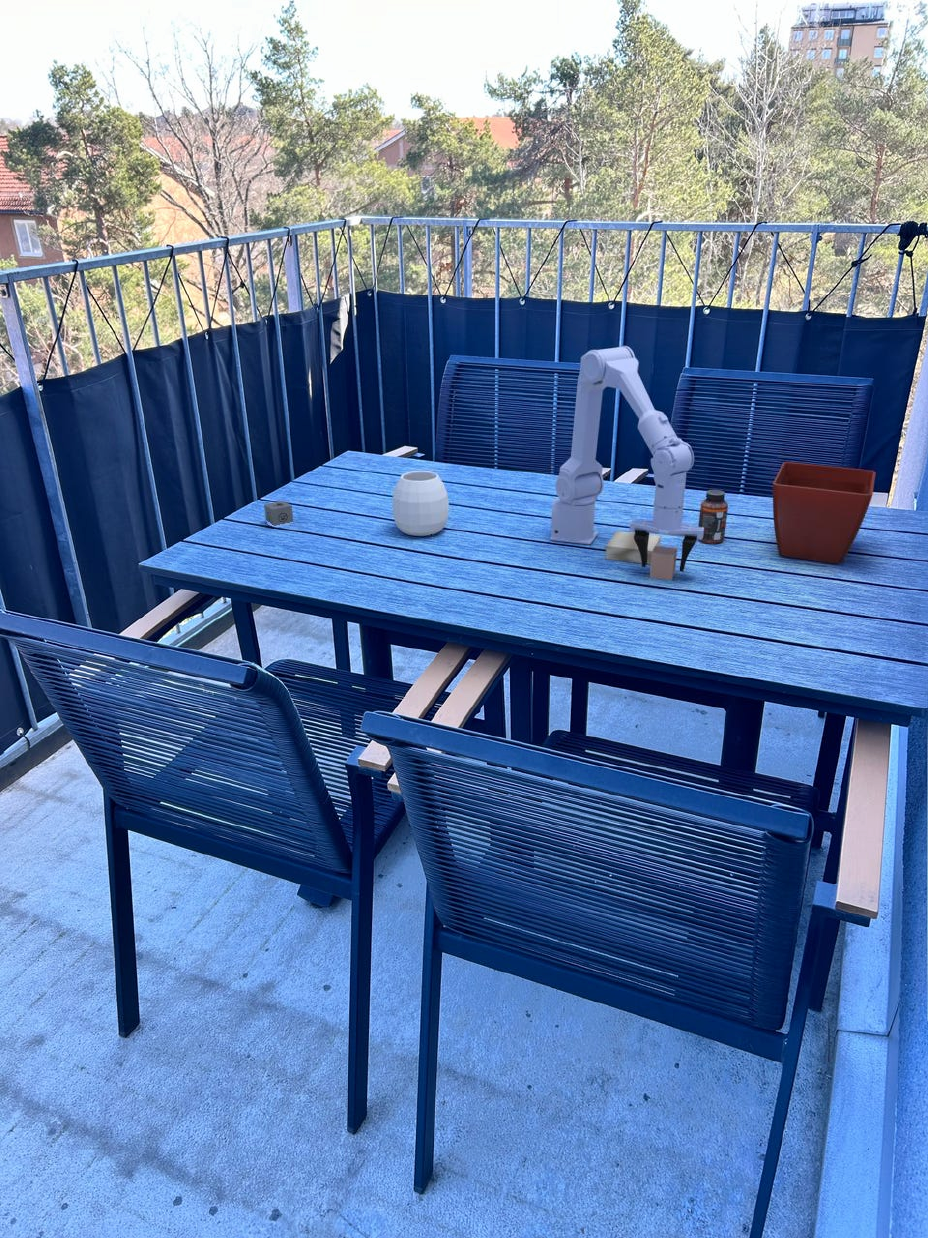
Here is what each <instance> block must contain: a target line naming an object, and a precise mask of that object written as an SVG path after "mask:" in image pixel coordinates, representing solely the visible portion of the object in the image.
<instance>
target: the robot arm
mask: <svg viewBox="0 0 928 1238" xmlns="http://www.w3.org/2000/svg"><path fill="white" fill-rule="evenodd" d="M639 363H640V362H639V360H638V359H637V357H636V356H635V353H634V351H633V349H632V348H630V346H627V345H622V346H618V347H612V348H604V349H591V350H588V352H587V351H586V353H585V354H583V355H581V357H580V366H579V374H578V379H577V388H576V397H575V398H576V399H575V409H574V418H573V419H574V420H573V432H572V441H571V443H572V444H571V453H570V457H569V458H568V459H567V460H566V461H565V463H563V464H562V465H561V466H560V467H559V473H558V477H557V479H556V481H555V493H556V495H557V497H558V498H555V499H554V501H553V504H552V508H551V522H550V523H551V525H550V527H551V528H550V538H549V539H550V540H551V541H556V542H565V543H573V544H582V545H584V544H585V545H592V543H593V541H594V540H595V538H597V536H598V534H599V532H598V531H596V530H594V529H595V528H594V526H595V507H596V501H598V499H599V495H600V494H602V492H603V491H604V486H605V482H604V481H605V480H604V477H603V468H604V467H603V466H602V464H600V463H599V462H598V461H597V460H596V458H597V449H598V439H599V431H600V420H601V411H602V404H603V403H602V402H603V393H604V390H605V388H607V387H609V388H613V389H618V390H620V392H621V394H622V395H623V397H624V398H625V400H626V402H628V404H629V406H630V407H631V409H632V410H633V412H634V413H635V415H636V417H637V418H638V424H637V429H638V431H639V434H640V435H641V436H642V438H643V441H644V442H645V444H646V446H647V448H648V449H649V451H650V453H651V455H652V456H653V457H652V458H650V466H651V468H652V471H653V480H654V483H655V490H654V500H653V513H652V515H653V516H652V520H634V519H633V520H631V521H630V523H629V532H630V533H635V535H634V540H635V542H636V544H637V547H638V549H639V552H640V556H641V561H642V563H641V567H642V568H645V567H646V566H647V565H648V564H647V558H648V540H649V535H650V534H654V535H657V534H658V535H660V536H673V537H674V536H676V537H684V538H683V540H682V542H681V543H682V545H681V547H682V548H681V558H680V559H681V560H680V565H679V572H684V570H685V567H686V562H687V559H688V557H689V555H690V554H691V551H692V550H693V549H694V546H695V544H696V542H697V540H699V539H700V540H702V538H703V533H704V528H703V527H698V526H696V525H691V524H687V523H683V512H684V501H685V491H686V482H687V481H686V480H687V472H688V471H690V470H691V469H692V467H693V465H694V463H695V455H694V451H693V449H692V446H691V445H690V444H689V443H687V442H685V441H683V440H682V439H681V438H680V437H678V436H677V434H676V433H675V431H674V428H673V427H672V426H671V423H670V422H669V418H668V417H667V415H666V414H665V413H664V412H662V411H659V410H656V409H655V407H654V405H653V403H652V401H651V399H650V396H649V394H648V393H647V391H646V388H645V386H644V384H643V381H642V380H641V377H640V375H639V373H638V371H639ZM700 540H699V541H700Z"/></svg>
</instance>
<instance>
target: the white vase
mask: <svg viewBox="0 0 928 1238" xmlns="http://www.w3.org/2000/svg"><path fill="white" fill-rule="evenodd" d="M393 490H394V491H393V494H392V503H391V504H392V505H391V506H392V517H393V519H394V523H395V524H396V527H397V528H398V529H399V530H400V531H401V532H402V533H405V534H406V535H410V536H416V537H417V536H418V537H424V536H426V537H427V536H430V535H431V534H432V535H436V534H437V533H439V532H440V531H442V530H443V529H444V527H445V526H446V524H447V522H448V519H449V516H450V513H449V512H450V503H449V496H448V495H449V494H448V491H447V489H446V487H445V485H444V483H443V480H442V479H441V478H440V475H438V473H435V472H434V471H430V470H413V471H408V472H405V473H403V474H402V475H400V477H399V478H398V481H397V483H396V485H395V488H394V489H393ZM432 535H431V536H432Z"/></svg>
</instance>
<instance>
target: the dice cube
mask: <svg viewBox="0 0 928 1238" xmlns="http://www.w3.org/2000/svg"><path fill="white" fill-rule="evenodd" d="M263 508H264V517H265V521H266V520H267V521H268V522H270V523H271V524H272V525H274V526H276V525H280V524H285V523H290V522H293V523H294V517H293V516H294V515H293V506H292V505H291V504H290V503H288V502H286V501H285V500H279V501H273V502H269V503H264V504H263Z"/></svg>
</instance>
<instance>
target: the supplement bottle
mask: <svg viewBox="0 0 928 1238" xmlns="http://www.w3.org/2000/svg"><path fill="white" fill-rule="evenodd" d="M725 496H726V493H725V491H723V490H719V489H709V490H707V491H706V493H705V497H706V498H705V499H703V500H702V501H701V503H700V507H699V516H698V526H697V527H703V528H704V533H703V538H702V540H700V539H698V541H700V542H701V543H705V544H710V545H711V544H714V545H715V544H720V543H722V542H723V541H725V537H726V536H725V534H726V527H727V518H728V509H729V505H728V502H727V501H726V500H725V498H726V497H725Z"/></svg>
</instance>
